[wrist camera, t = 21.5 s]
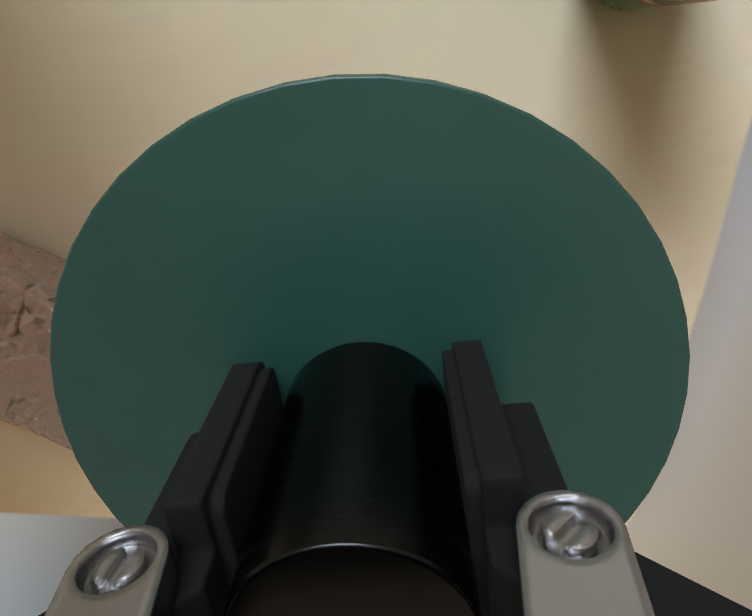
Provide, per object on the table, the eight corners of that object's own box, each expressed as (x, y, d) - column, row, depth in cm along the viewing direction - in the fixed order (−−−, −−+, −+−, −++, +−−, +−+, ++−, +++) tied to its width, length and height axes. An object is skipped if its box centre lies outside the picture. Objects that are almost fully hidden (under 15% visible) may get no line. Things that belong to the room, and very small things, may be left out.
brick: (275, 352, 33) (259, 398, 29) (218, 457, 36) (195, 512, 32) (-18, 211, 30) (-85, 239, 26) (-54, 338, 33) (-119, 382, 29)
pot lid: (-53, 261, 12) (-450, 451, 6) (538, -76, 9) (761, -264, 4) (270, 647, 16) (208, 962, 11) (731, 488, 14) (969, 793, 8)
